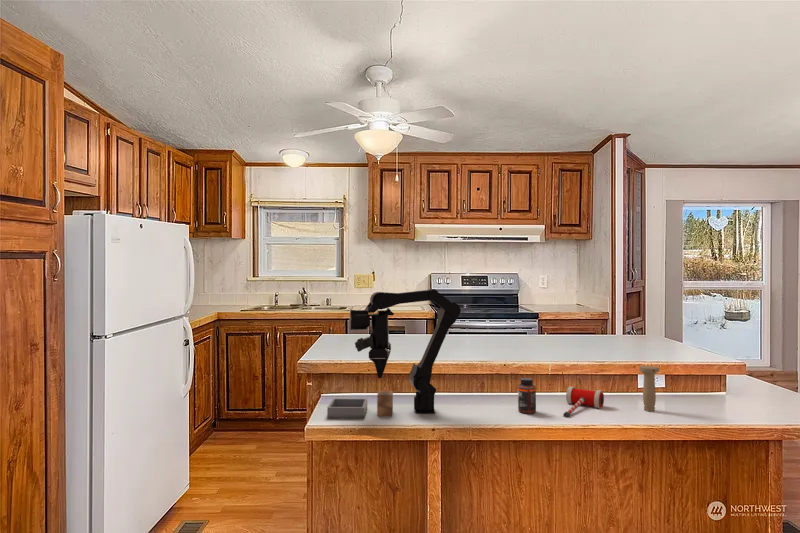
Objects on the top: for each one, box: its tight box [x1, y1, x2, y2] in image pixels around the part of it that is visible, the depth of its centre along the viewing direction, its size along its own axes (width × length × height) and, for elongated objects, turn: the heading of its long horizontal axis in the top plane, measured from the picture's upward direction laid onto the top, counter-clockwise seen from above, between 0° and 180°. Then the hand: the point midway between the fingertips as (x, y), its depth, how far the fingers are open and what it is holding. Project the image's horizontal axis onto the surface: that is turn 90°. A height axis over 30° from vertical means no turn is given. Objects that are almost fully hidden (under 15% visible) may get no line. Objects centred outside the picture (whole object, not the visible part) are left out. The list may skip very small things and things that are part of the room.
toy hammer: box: [562, 385, 605, 418], centre depth 173 cm, size 23×12×6 cm, turn 142°
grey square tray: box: [326, 397, 368, 420], centre depth 167 cm, size 12×12×4 cm
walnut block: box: [376, 390, 394, 417], centre depth 167 cm, size 5×5×7 cm
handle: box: [638, 365, 660, 412], centre depth 172 cm, size 5×6×15 cm
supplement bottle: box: [517, 377, 537, 415], centre depth 170 cm, size 6×6×11 cm
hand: (380, 375), depth 168 cm, fingers open, 9 cm apart
